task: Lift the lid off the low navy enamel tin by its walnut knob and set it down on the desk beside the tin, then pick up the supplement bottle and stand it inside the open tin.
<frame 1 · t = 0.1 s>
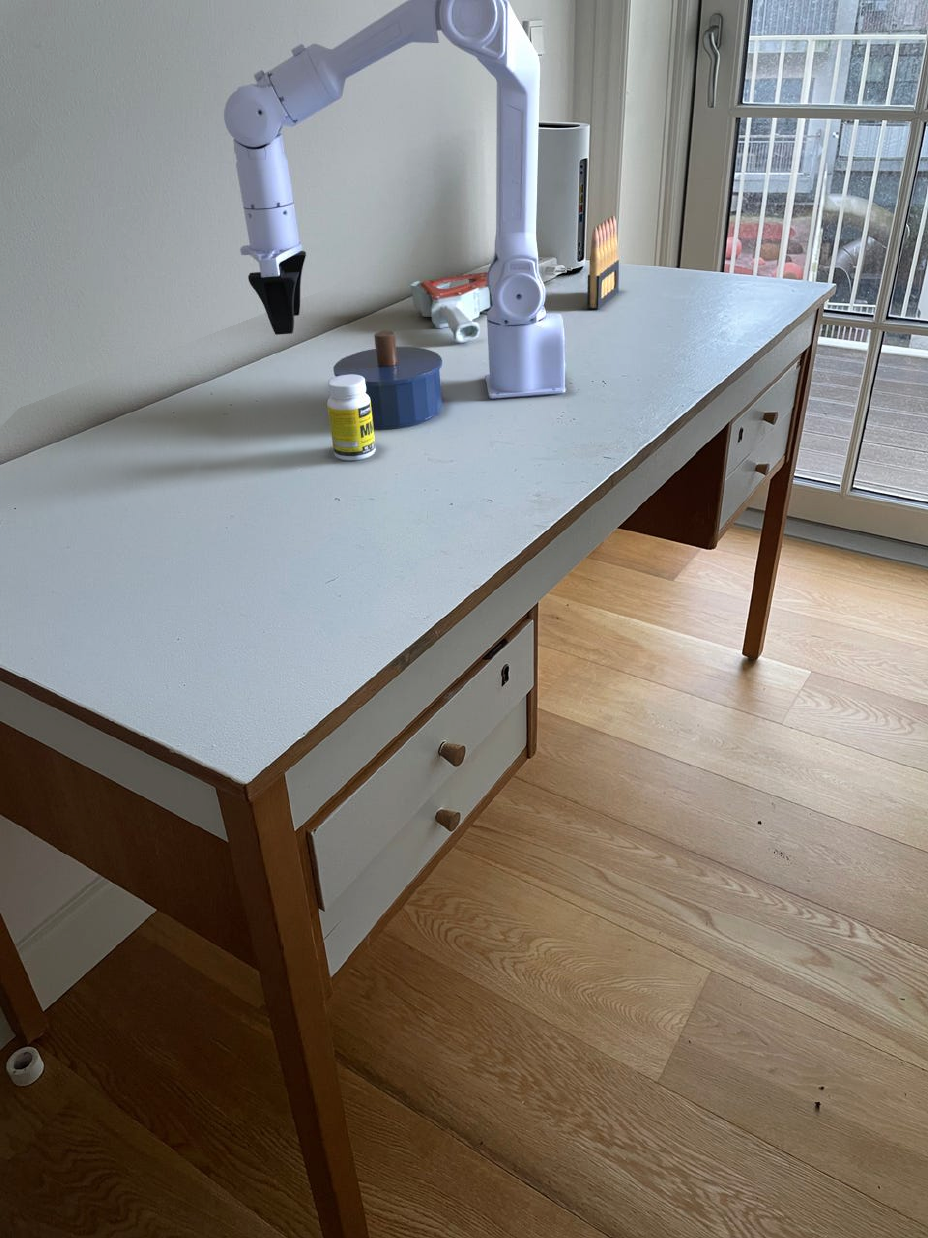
hand: (287, 324, 119), 10 cm above the table, tool pointing down, fingers open, 7 cm apart
tin lid: (388, 367, 117), point 5 cm above the table, touching tin
supplement bottle: (355, 454, 110), on the table
ammunition clip: (603, 301, 156), on the table
tin: (392, 410, 120), on the table
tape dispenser: (454, 323, 150), on the table
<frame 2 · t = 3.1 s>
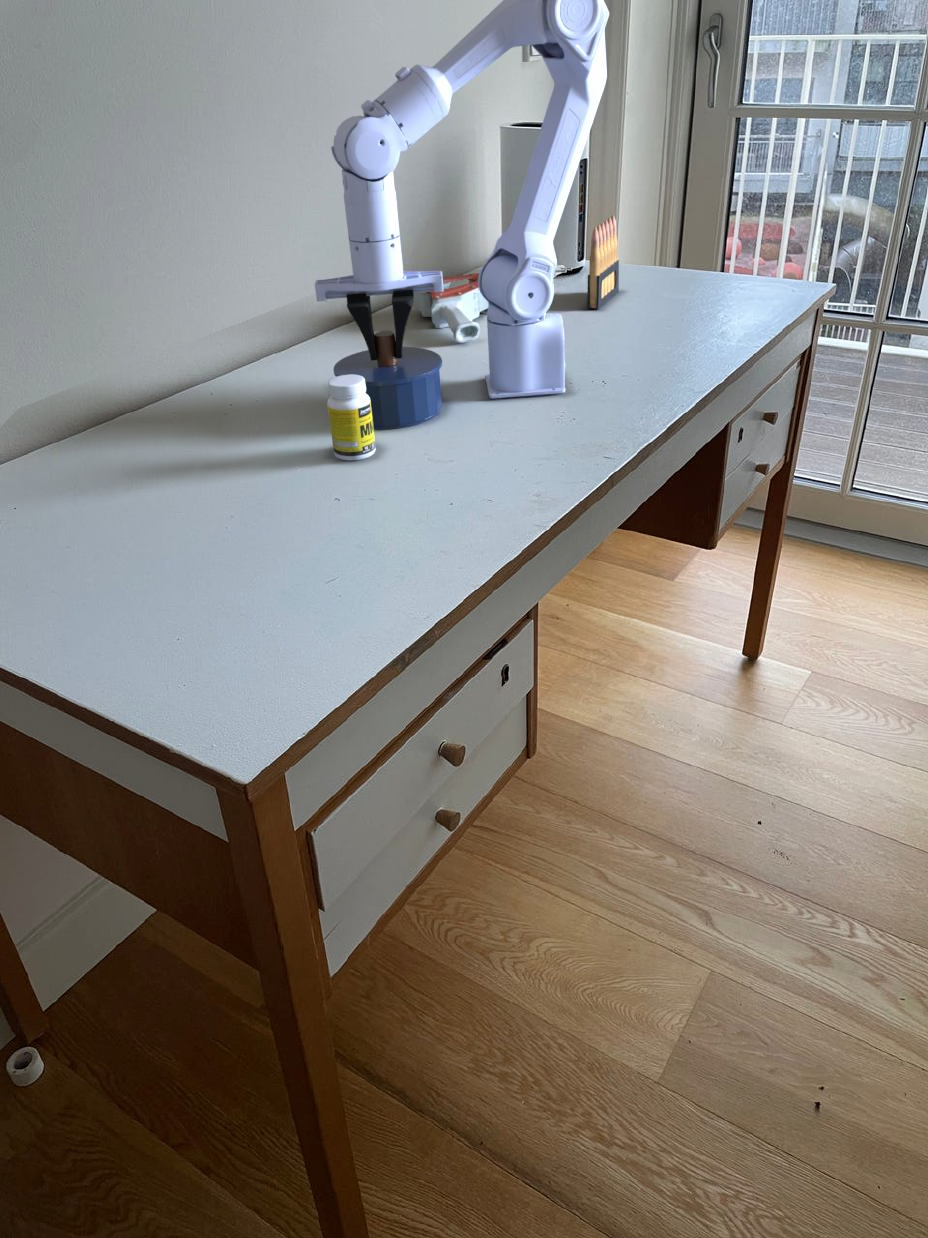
hand: (387, 356, 116), 7 cm above the table, tool pointing down, fingers closed on tin lid, 2 cm apart
tin lid: (388, 367, 117), point 5 cm above the table, touching gripper, tin
everything else where it was.
when the fingers open (2 cm above the table, at t = 7.6 s): tin lid stays where it is, point 1 cm above the table.
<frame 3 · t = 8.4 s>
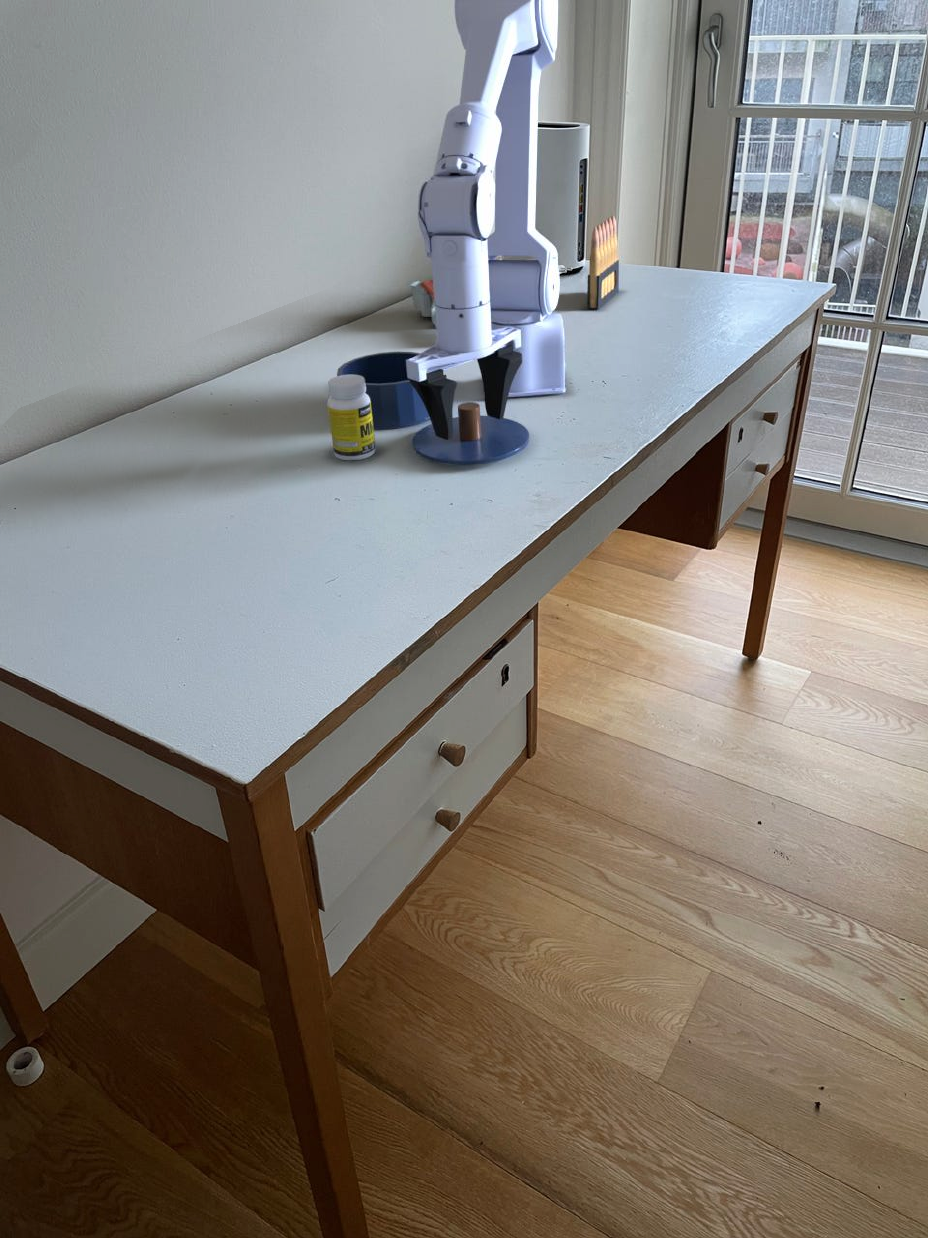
hand: (470, 426, 108), 2 cm above the table, tool pointing down, fingers open, 7 cm apart
tin lid: (470, 441, 109), point 1 cm above the table
everything else where it was.
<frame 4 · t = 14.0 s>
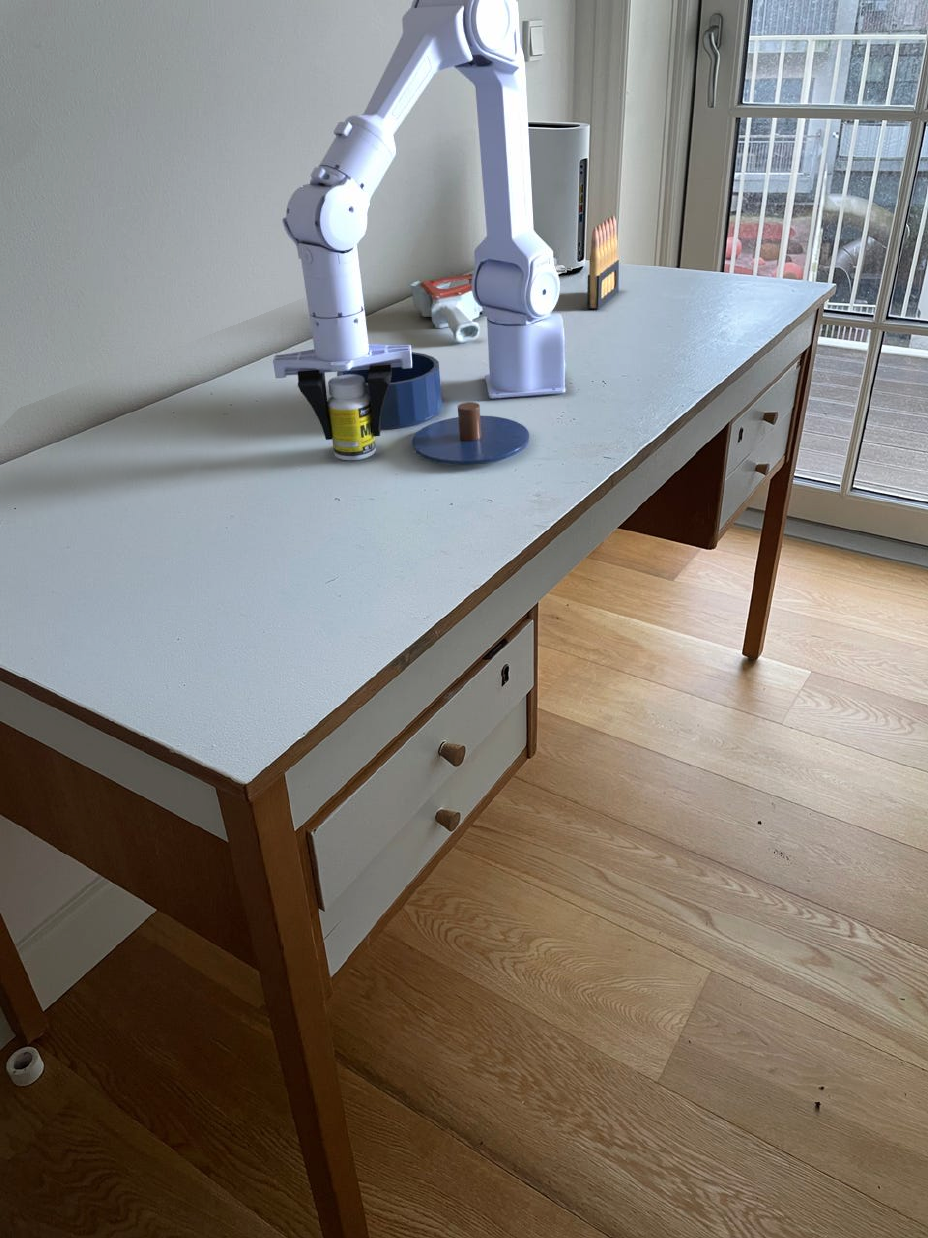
hand: (352, 434, 108), 2 cm above the table, tool pointing down, fingers closed on supplement bottle, 5 cm apart
supplement bottle: (355, 454, 110), on the table, touching gripper
everything else where it was.
when the fingers open (3 cm above the table, at t = 19.2 s): supplement bottle stays where it is, resting on tin.
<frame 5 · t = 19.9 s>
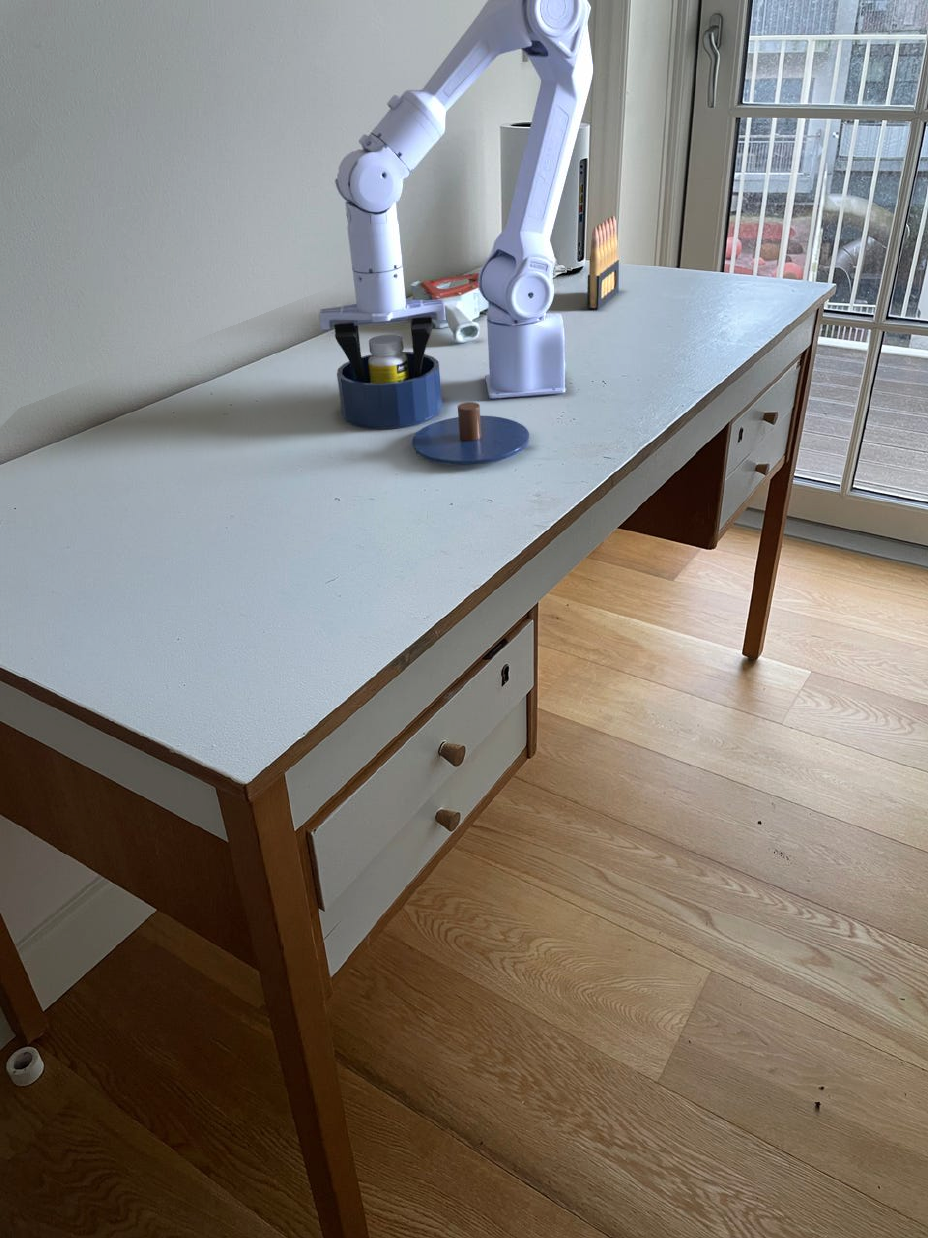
hand: (390, 383, 118), 3 cm above the table, tool pointing down, fingers open, 6 cm apart
supplement bottle: (392, 408, 120), resting on tin
everything else where it was.
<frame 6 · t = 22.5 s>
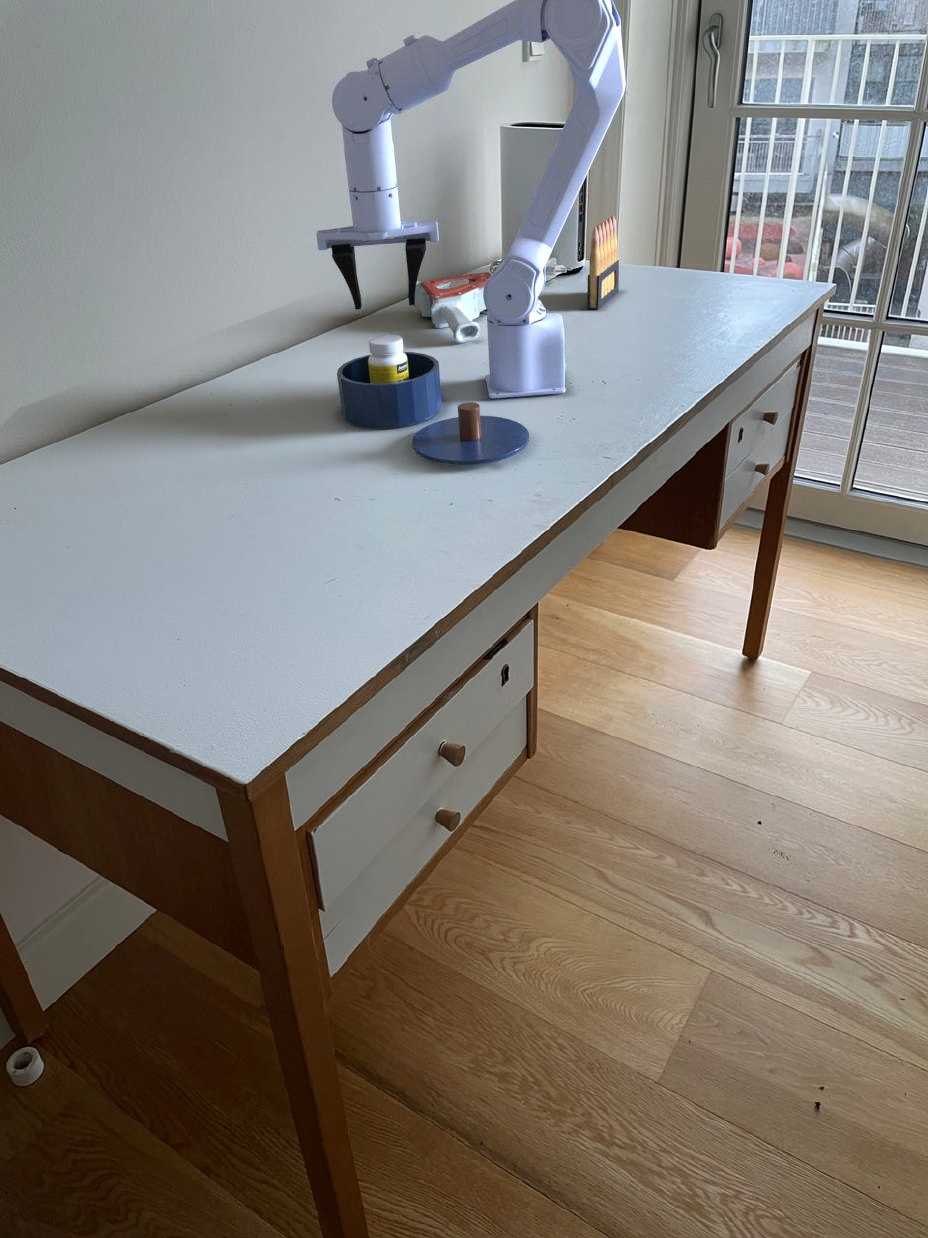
hand: (385, 305, 122), 10 cm above the table, tool pointing down, fingers open, 6 cm apart
nothing on the table moved.
at the end: tin lid inside the target area (0.0 cm from its centre), point 0.6 cm above the table; supplement bottle 0.0 cm off-centre in the tin, point 0.2 cm above the tin's base; supplement bottle tilted 0° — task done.
